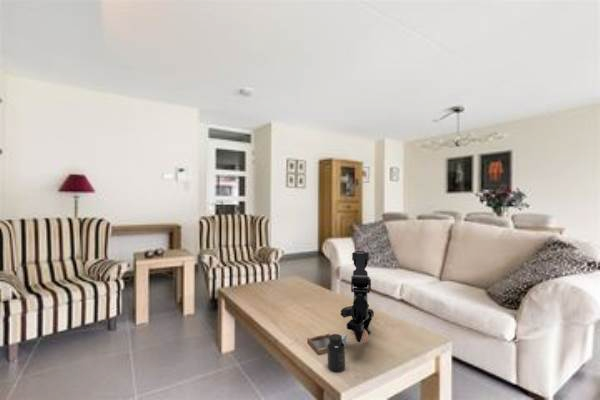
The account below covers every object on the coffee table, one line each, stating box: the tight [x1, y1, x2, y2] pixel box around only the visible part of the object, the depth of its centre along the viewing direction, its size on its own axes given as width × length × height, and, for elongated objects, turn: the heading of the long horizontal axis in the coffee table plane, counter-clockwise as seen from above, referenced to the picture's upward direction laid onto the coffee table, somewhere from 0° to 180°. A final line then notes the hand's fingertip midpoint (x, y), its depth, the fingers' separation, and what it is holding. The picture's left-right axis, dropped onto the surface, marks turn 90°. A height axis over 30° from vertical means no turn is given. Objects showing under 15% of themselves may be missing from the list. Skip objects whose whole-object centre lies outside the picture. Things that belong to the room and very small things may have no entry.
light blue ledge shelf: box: [342, 334, 349, 347], centre depth 122 cm, size 16×2×4 cm, turn 149°
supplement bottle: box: [326, 333, 346, 373], centre depth 110 cm, size 7×7×12 cm
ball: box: [353, 329, 369, 344], centre depth 121 cm, size 6×6×6 cm
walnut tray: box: [307, 333, 331, 356], centre depth 126 cm, size 11×11×2 cm
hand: (361, 338), depth 121 cm, fingers closed on ball, 6 cm apart
